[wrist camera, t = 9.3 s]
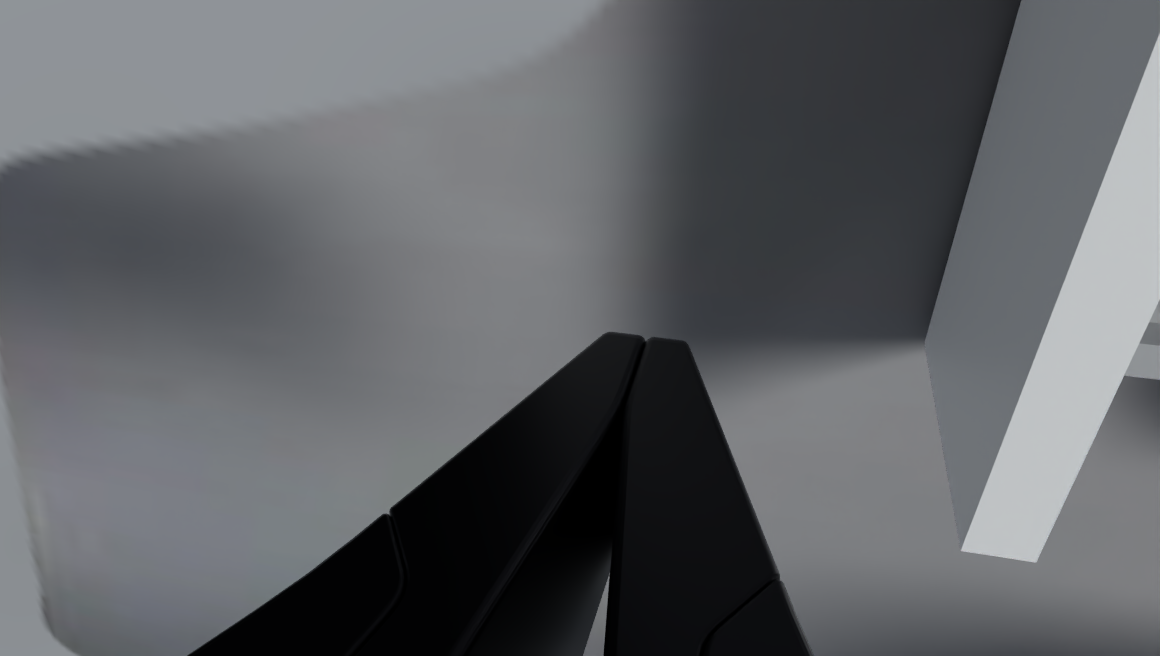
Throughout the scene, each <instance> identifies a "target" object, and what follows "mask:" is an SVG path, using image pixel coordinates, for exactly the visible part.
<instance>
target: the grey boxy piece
mask: <svg viewBox="0 0 1160 656" xmlns="http://www.w3.org/2000/svg"><path fill="white" fill-rule="evenodd" d="M924 345H925V350H926V356H927V362H928V368H929V373H930V379H931V385H932V390H933V396H934V402H935V407H936V413H937V419H938V424H939V430H940V436H941V442H942V447H943V453H944V459H945V464H946V470H947V476H948V481H949V487H950V493H951V498H952V504H953V510H954V516H955V521H956V527H957V533H958V538H959V544H960V550H961V551H965V552H971V553H978V554H984V555H991V556H997V557H1004V558H1010V559H1016V560H1023V561H1029V562H1037V559H1038V557H1039V555H1040V553H1041V551H1042V549H1043V547H1044V545H1045V542H1046V540H1047V538H1048V536H1049V534H1050V532H1051V530H1052V528H1053V525H1054V523H1055V521H1056V519H1057V517H1058V515H1059V513H1060V511H1061V508H1062V506H1063V504H1064V502H1065V500H1066V498H1067V496H1068V494H1069V491H1070V489H1071V487H1072V485H1073V483H1074V481H1075V479H1076V477H1077V474H1078V472H1079V470H1080V468H1081V466H1082V464H1083V462H1084V460H1085V457H1086V455H1087V453H1088V451H1089V449H1090V447H1091V445H1092V443H1093V440H1094V438H1095V436H1096V434H1097V432H1098V430H1099V428H1100V426H1101V423H1102V421H1103V419H1104V417H1105V415H1106V413H1107V411H1108V409H1109V406H1110V404H1111V402H1112V400H1113V398H1114V396H1115V394H1116V392H1117V389H1118V387H1119V385H1120V383H1121V381H1122V379H1123V377H1124V376H1132V377H1140V378H1149V379H1158V380H1160V0H1021V3H1020V7H1019V10H1018V14H1017V17H1016V21H1015V24H1014V28H1013V31H1012V35H1011V38H1010V42H1009V45H1008V49H1007V53H1006V56H1005V60H1004V63H1003V67H1002V70H1001V74H1000V77H999V81H998V84H997V88H996V91H995V95H994V99H993V102H992V106H991V109H990V113H989V116H988V120H987V123H986V127H985V130H984V134H983V137H982V141H981V145H980V148H979V152H978V155H977V159H976V162H975V166H974V169H973V173H972V176H971V180H970V183H969V187H968V191H967V194H966V198H965V201H964V205H963V208H962V212H961V215H960V219H959V222H958V226H957V229H956V233H955V237H954V240H953V244H952V247H951V251H950V254H949V258H948V261H947V265H946V268H945V272H944V275H943V279H942V283H941V286H940V290H939V293H938V297H937V300H936V304H935V307H934V311H933V314H932V318H931V321H930V325H929V329H928V332H927V336H926V339H925V343H924Z"/></svg>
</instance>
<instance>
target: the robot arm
mask: <svg viewBox="0 0 1160 656" xmlns="http://www.w3.org/2000/svg"><path fill="white" fill-rule="evenodd" d="M389 513H390V515H389V514H382V515H381V516H380V517H379V518H377V519H376V520H375V521H374V522H373V523H371V524H370V525H369V526H368V527H366V528H365V529H364V530H363V531H362V532H360V533H359V534H358V535H357V536H355V537H354V538H353V539H352V540H350V541H349V542H348V543H346V544H345V545H344V546H343V547H341V548H340V549H339V550H337V551H336V552H335V553H333V554H332V555H331V556H330V557H328V558H327V559H326V560H324V561H323V562H322V563H321V564H319V565H318V566H317V567H315V568H314V569H313V570H312V571H310V572H309V573H308V574H306V575H305V576H303V577H302V578H300V579H299V580H298V581H296V582H295V583H293V584H292V585H290V586H289V587H288V588H286V589H285V590H283V591H282V592H280V593H279V594H278V595H276V596H275V597H273V598H272V599H270V600H269V601H268V602H266V603H265V604H263V605H262V606H260V607H259V608H258V609H256V610H255V611H253V612H252V613H250V614H249V615H247V616H246V617H244V618H243V619H241V620H240V621H238V622H237V623H235V624H234V625H232V626H231V627H229V628H228V629H226V630H225V631H223V632H222V633H220V634H219V635H217V636H216V637H214V638H213V639H211V640H210V641H208V642H207V643H205V644H204V645H202V646H201V647H199V648H198V649H196V650H195V651H193V652H192V653H190V654H189V655H187V656H583V653H584V650H585V647H586V644H587V641H588V638H589V635H590V632H591V628H592V625H593V622H594V619H595V616H596V613H597V610H598V607H599V604H600V601H601V598H602V594H603V591H604V588H605V585H606V582H607V579H608V576H609V573H610V579H609V592H608V605H607V618H606V631H605V644H604V656H814V654H813V652H812V650H811V648H810V645H809V643H808V641H807V639H806V636H805V634H804V632H803V629H802V627H801V625H800V623H799V620H798V618H797V616H796V613H795V611H794V608H793V606H792V603H791V601H790V598H789V596H788V593H787V590H786V588H785V585H784V583H783V582H782V581H780V574H779V571H778V569H777V566H776V564H775V561H774V559H773V556H772V554H771V551H770V549H769V546H768V544H767V541H766V539H765V536H764V534H763V531H762V529H761V526H760V524H759V521H758V519H757V516H756V513H755V511H754V508H753V506H752V503H751V501H750V498H749V496H748V493H747V491H746V488H745V486H744V483H743V481H742V478H741V476H740V473H739V471H738V468H737V466H736V463H735V460H734V458H733V455H732V453H731V450H730V448H729V445H728V443H727V440H726V438H725V435H724V433H723V430H722V428H721V425H720V423H719V420H718V418H717V415H716V413H715V410H714V408H713V405H712V402H711V400H710V397H709V395H708V392H707V390H706V387H705V385H704V382H703V380H702V377H701V375H700V372H699V370H698V367H697V365H696V362H695V360H694V357H693V355H692V352H691V349H690V347H689V345H688V344H687V343H686V342H685V341H682V340H675V339H666V338H658V337H651V338H649V339H648V340H647V341H645V339H644V338H643V337H642V336H640V335H633V334H625V333H617V332H607V333H605V334H603V335H602V336H601V337H599V338H598V339H597V340H596V341H594V342H593V343H592V344H591V345H590V346H588V347H587V348H586V349H585V350H583V351H582V352H581V353H580V354H578V355H577V356H576V357H575V358H574V359H572V360H571V361H570V362H569V363H567V364H566V365H565V366H564V367H563V368H561V369H560V370H559V371H558V372H556V373H555V374H554V375H553V376H552V377H550V378H549V379H548V380H547V381H545V382H544V383H543V384H542V385H541V386H539V387H538V388H537V389H536V390H534V391H533V392H532V393H531V394H530V395H528V396H527V397H526V398H525V399H523V400H522V401H521V402H520V403H519V404H517V405H516V406H515V407H514V408H512V409H511V410H510V411H509V412H508V413H506V414H505V415H504V416H503V417H501V418H500V419H499V420H498V421H497V422H495V423H494V424H493V425H492V426H490V427H489V428H488V429H487V430H486V431H484V432H483V433H482V434H481V435H479V436H478V437H477V438H476V439H475V440H473V441H472V442H471V443H470V444H468V445H467V446H466V447H465V448H464V449H462V450H461V451H460V452H459V453H457V454H456V455H455V456H454V457H453V458H451V459H450V460H449V461H448V462H446V463H445V464H444V465H443V466H442V467H440V468H439V469H438V470H437V471H435V472H434V473H433V474H432V475H431V476H429V477H428V478H427V479H426V480H424V481H423V482H422V483H421V484H420V485H418V486H417V487H416V488H415V489H413V490H412V491H411V492H410V493H409V494H407V495H406V496H405V497H404V498H402V499H401V500H400V501H399V502H398V503H396V504H395V505H394V506H393V507H391V509H390V511H389Z"/></svg>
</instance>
